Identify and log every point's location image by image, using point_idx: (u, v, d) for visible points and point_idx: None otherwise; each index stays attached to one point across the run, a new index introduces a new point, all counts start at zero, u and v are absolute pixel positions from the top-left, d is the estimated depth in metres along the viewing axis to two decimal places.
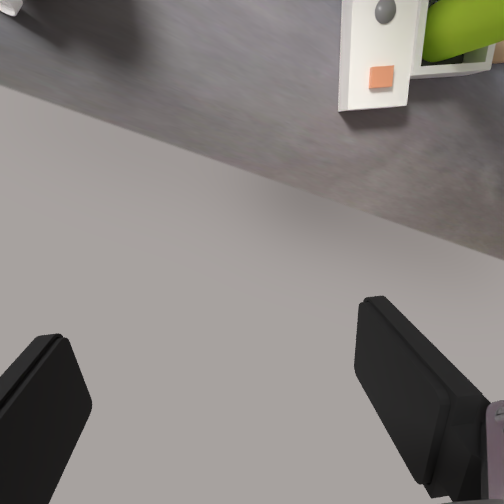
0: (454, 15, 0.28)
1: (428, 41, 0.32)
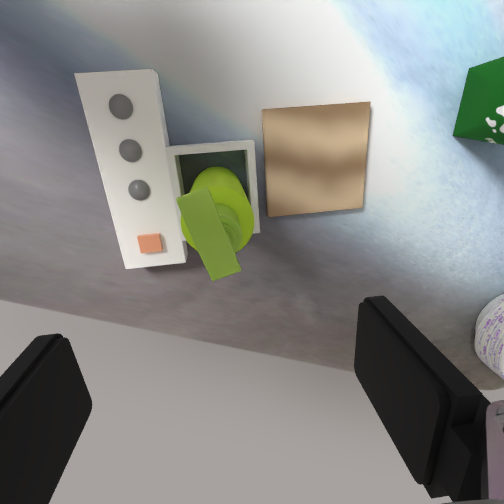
0: None
1: None
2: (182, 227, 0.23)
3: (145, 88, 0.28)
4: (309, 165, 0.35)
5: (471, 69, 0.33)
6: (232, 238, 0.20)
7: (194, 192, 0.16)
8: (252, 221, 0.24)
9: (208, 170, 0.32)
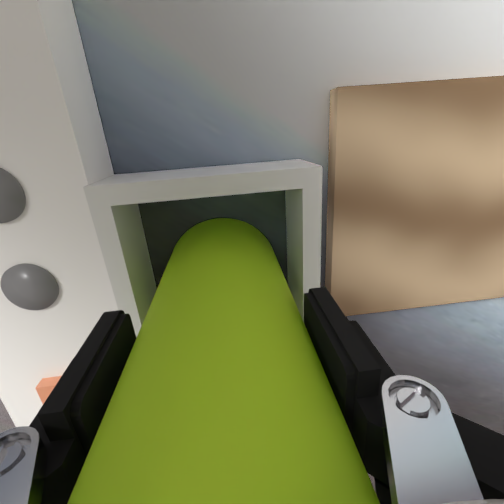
0: None
1: None
2: None
3: (9, 16, 0.09)
4: (429, 214, 0.16)
5: None
6: None
7: None
8: None
9: (202, 237, 0.13)
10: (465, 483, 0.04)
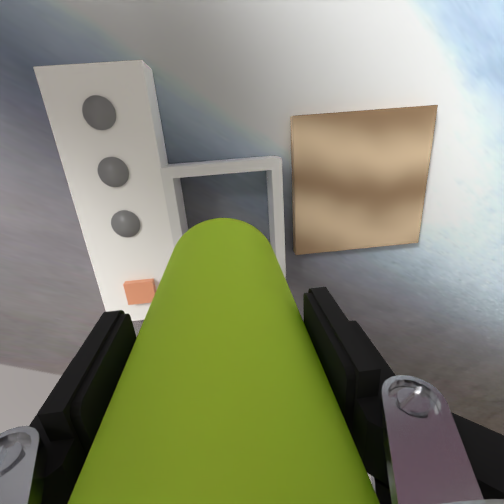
0: None
1: None
2: None
3: (132, 88, 0.20)
4: (352, 188, 0.26)
5: None
6: None
7: None
8: None
9: (202, 237, 0.13)
10: (465, 483, 0.04)
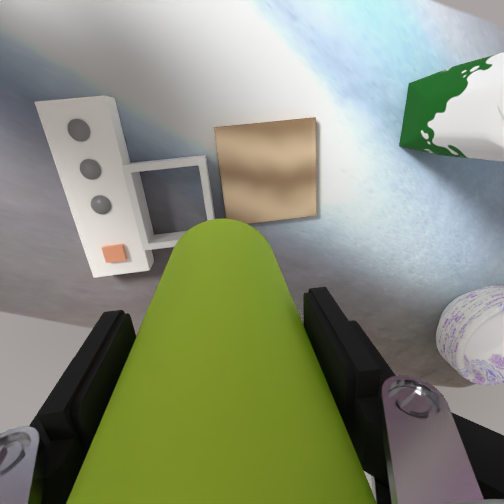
0: None
1: None
2: None
3: (100, 113, 0.31)
4: (262, 177, 0.37)
5: (410, 84, 0.35)
6: None
7: None
8: None
9: (201, 238, 0.13)
10: (465, 483, 0.04)
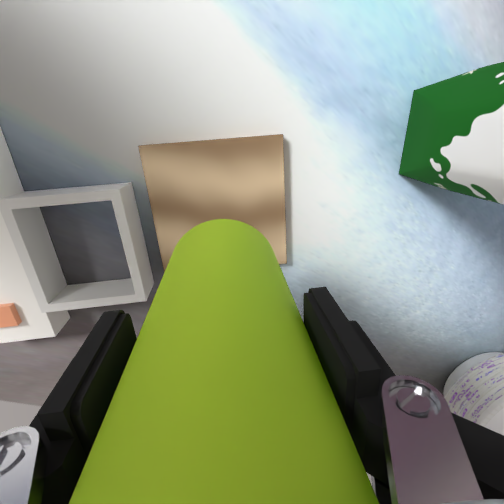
0: None
1: None
2: None
3: None
4: (211, 213, 0.27)
5: (416, 92, 0.25)
6: None
7: None
8: None
9: (202, 238, 0.13)
10: (465, 483, 0.04)
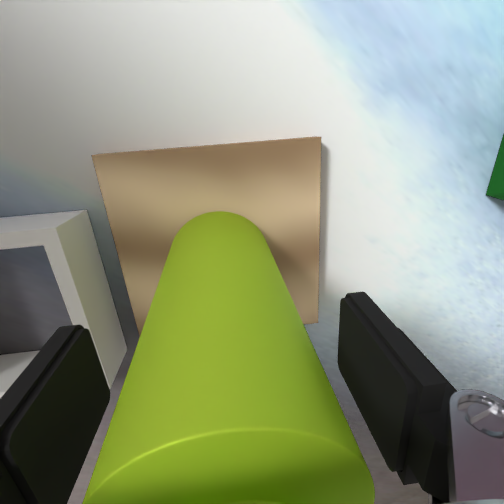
0: None
1: None
2: None
3: None
4: None
5: None
6: None
7: None
8: None
9: (201, 229, 0.14)
10: None
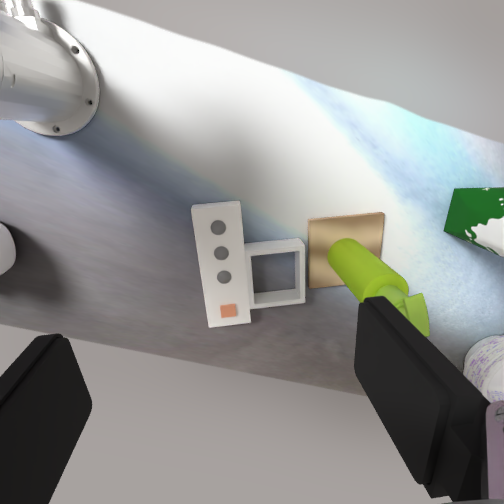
0: (342, 274, 0.42)
1: (333, 269, 0.47)
2: (363, 298, 0.36)
3: (235, 216, 0.42)
4: None
5: (455, 190, 0.47)
6: None
7: (415, 295, 0.29)
8: (407, 293, 0.37)
9: (348, 244, 0.45)
10: None
